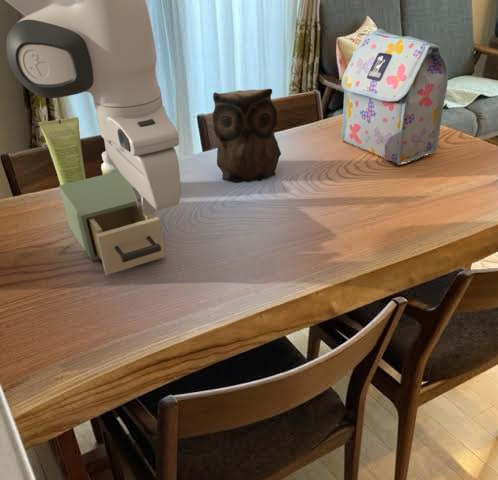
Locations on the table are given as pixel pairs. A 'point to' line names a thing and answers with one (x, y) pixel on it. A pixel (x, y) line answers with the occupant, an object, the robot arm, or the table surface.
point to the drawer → (126, 238)
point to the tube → (65, 148)
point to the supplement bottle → (107, 165)
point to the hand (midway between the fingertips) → (146, 211)
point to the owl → (246, 135)
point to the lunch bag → (394, 96)
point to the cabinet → (94, 203)
